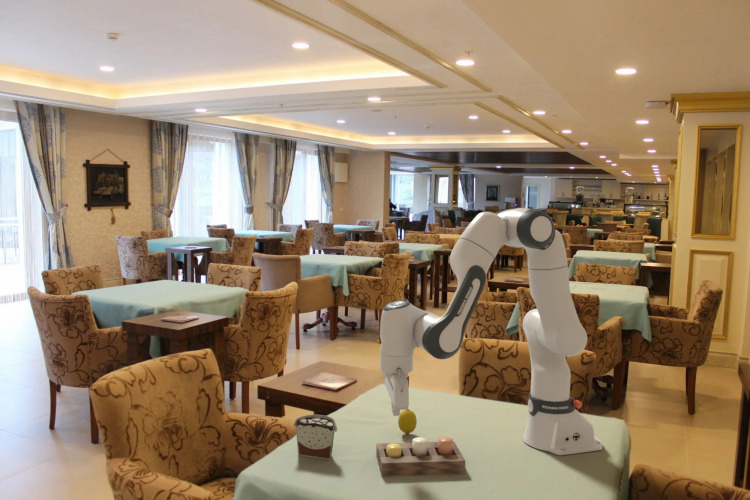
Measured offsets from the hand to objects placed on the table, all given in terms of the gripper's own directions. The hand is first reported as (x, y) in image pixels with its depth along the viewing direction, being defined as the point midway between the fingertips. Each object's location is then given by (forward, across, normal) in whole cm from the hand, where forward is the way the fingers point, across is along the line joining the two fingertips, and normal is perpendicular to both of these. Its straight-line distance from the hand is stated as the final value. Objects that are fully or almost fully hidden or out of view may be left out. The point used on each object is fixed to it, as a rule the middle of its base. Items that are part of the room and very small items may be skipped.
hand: (395, 413), depth 157 cm
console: (+14, 0, -7) cm, 16 cm away
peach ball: (+11, 0, -14) cm, 18 cm away
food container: (+14, +9, +20) cm, 26 cm away
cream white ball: (+11, 0, -7) cm, 13 cm away
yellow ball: (+12, 0, 0) cm, 13 cm away
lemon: (+14, +20, -7) cm, 26 cm away
